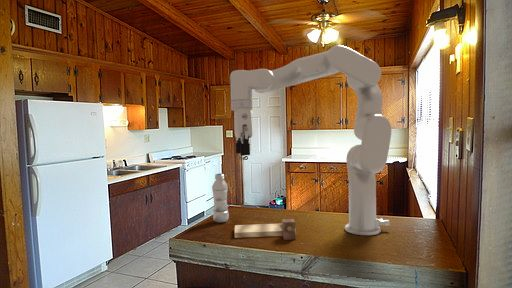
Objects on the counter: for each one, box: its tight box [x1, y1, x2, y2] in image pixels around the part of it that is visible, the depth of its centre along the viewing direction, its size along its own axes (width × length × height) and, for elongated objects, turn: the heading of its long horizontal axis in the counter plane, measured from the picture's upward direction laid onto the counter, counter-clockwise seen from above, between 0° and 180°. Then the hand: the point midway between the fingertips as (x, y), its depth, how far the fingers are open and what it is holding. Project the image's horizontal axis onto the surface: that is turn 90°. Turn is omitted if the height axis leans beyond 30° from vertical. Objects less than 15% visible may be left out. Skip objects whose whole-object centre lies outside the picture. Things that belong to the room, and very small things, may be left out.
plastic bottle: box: [211, 173, 230, 223], centre depth 136 cm, size 6×7×20 cm
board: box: [234, 223, 297, 239], centre depth 121 cm, size 22×9×2 cm, turn 93°
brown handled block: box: [281, 218, 296, 241], centre depth 119 cm, size 4×13×6 cm, turn 3°
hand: (242, 154), depth 117 cm, fingers open, 9 cm apart
